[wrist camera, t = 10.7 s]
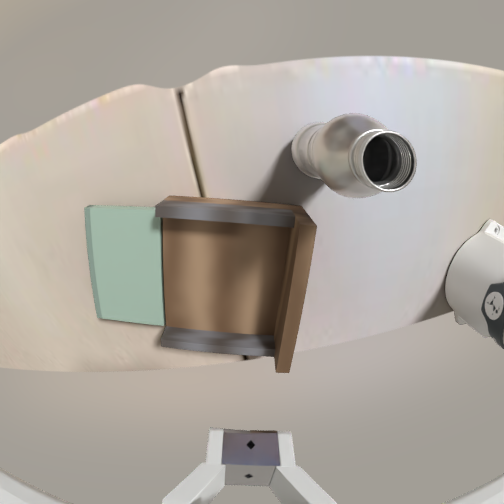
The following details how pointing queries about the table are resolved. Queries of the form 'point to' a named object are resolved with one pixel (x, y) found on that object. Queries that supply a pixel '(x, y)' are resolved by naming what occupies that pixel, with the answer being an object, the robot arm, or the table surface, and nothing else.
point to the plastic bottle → (355, 155)
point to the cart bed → (235, 275)
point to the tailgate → (126, 263)
